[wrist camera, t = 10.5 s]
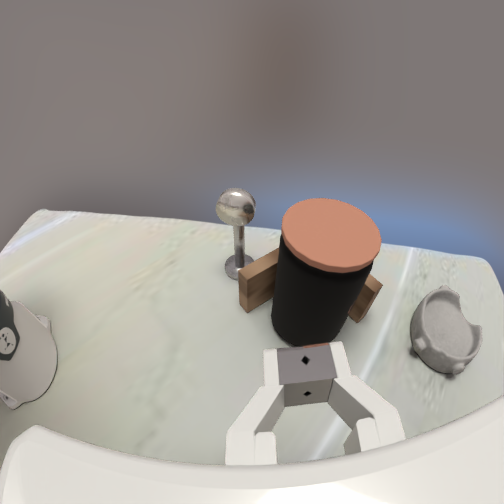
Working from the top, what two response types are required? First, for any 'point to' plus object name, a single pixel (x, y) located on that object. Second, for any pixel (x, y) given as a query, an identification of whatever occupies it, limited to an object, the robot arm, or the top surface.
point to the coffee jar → (321, 268)
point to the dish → (444, 332)
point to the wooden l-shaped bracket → (263, 284)
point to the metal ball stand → (236, 225)
